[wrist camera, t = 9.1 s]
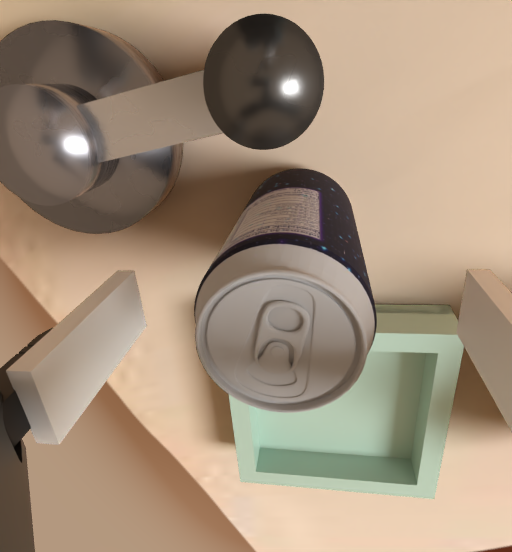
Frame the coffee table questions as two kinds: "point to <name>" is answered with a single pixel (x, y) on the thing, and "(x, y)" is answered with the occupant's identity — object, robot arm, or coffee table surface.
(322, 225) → the beverage can
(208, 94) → the crank
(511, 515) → the coffee table surface
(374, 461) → the tray
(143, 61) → the crank base
